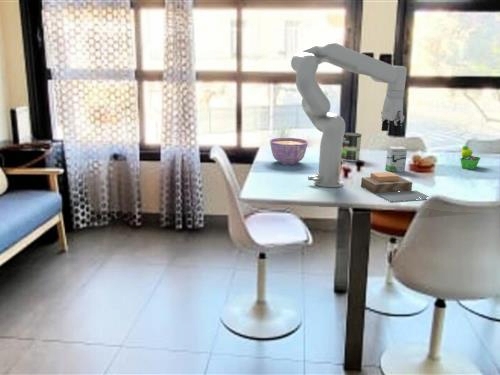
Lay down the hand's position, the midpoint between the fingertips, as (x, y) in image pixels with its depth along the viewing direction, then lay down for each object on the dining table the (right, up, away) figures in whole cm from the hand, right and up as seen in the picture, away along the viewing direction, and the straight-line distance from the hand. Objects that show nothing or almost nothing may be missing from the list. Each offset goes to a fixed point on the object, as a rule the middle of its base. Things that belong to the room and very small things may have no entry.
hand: (390, 132), depth 235 cm
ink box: (+10, -16, +28) cm, 34 cm away
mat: (+1, -29, -17) cm, 33 cm away
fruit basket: (+51, -14, +39) cm, 66 cm away
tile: (-4, -21, -5) cm, 22 cm away
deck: (-4, -25, -6) cm, 26 cm away
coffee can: (-9, -9, +51) cm, 52 cm away
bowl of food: (-43, -12, +39) cm, 59 cm away
